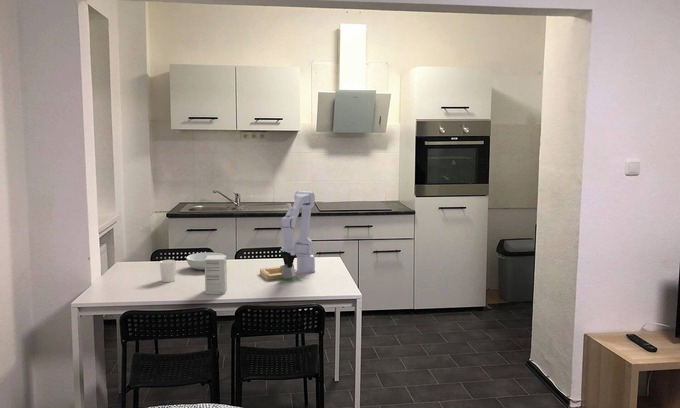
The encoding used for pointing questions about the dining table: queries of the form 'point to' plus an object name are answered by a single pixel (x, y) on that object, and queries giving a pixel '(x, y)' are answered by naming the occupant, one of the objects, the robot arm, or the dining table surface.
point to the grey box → (287, 271)
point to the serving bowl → (199, 260)
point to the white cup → (168, 270)
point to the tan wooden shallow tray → (271, 273)
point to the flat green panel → (288, 280)
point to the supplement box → (215, 274)
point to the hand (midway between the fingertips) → (288, 266)
